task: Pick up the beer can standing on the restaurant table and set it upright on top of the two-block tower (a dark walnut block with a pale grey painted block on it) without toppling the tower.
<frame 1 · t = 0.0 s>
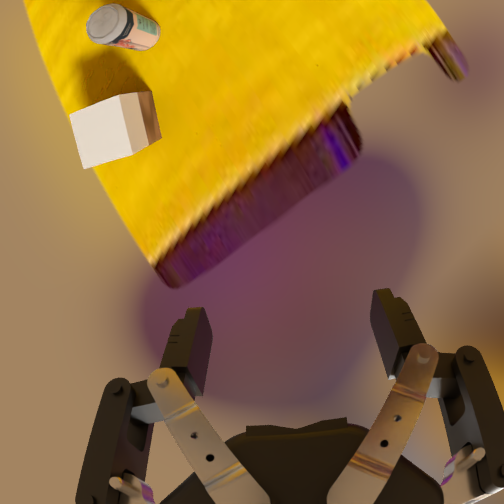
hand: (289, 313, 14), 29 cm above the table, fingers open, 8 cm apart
tower top: (118, 126, 32), point 5 cm above the table
beer can: (145, 35, 29), on the table
tower base: (134, 120, 36), on the table
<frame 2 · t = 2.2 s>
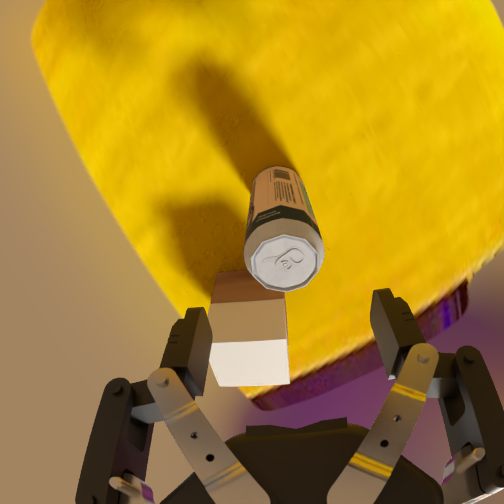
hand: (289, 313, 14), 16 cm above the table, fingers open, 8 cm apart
tower top: (251, 326, 30), point 5 cm above the table, touching tower base
beer can: (277, 188, 27), on the table
tower base: (253, 293, 34), on the table, touching tower top
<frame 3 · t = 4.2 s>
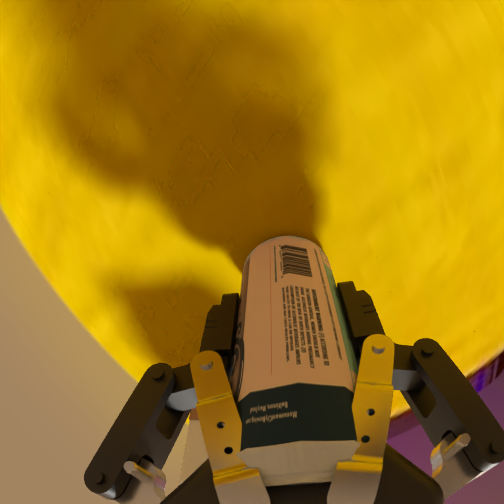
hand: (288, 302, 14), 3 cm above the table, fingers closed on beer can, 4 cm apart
tower top: (247, 439, 19), point 5 cm above the table, touching tower base
beer can: (286, 266, 17), on the table, touching gripper
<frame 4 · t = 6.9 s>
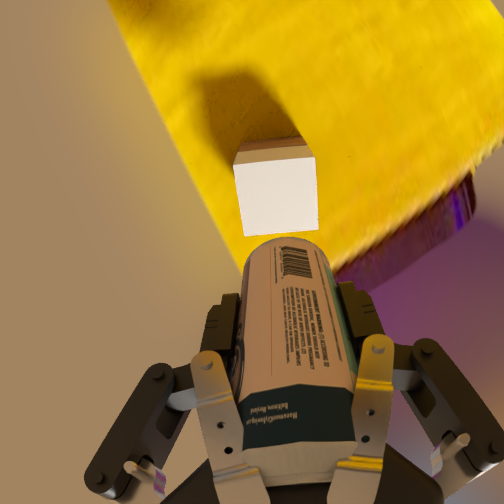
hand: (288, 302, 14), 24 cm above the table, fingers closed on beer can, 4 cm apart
tower top: (276, 180, 30), point 5 cm above the table, touching tower base
beer can: (286, 267, 17), point 21 cm above the table, touching gripper
tower base: (275, 166, 34), on the table, touching tower top
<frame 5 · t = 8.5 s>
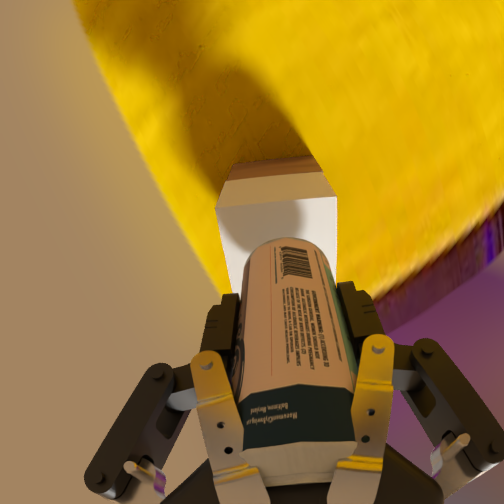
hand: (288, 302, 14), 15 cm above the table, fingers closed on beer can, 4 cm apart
tower top: (278, 219, 23), point 5 cm above the table, touching tower base
beer can: (286, 267, 17), point 12 cm above the table, touching gripper
tower base: (277, 195, 27), on the table, touching tower top
when the fingers open (14 cm above the table, at t = 9.8 s): beer can drops 1 cm, resting on tower top.
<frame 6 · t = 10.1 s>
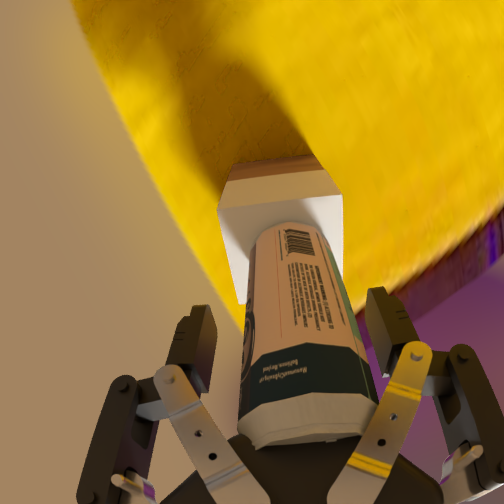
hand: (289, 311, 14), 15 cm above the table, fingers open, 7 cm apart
tower top: (281, 219, 22), point 5 cm above the table, touching beer can, tower base
beer can: (289, 251, 18), point 10 cm above the table, touching tower top
tower base: (278, 195, 26), on the table, touching tower top
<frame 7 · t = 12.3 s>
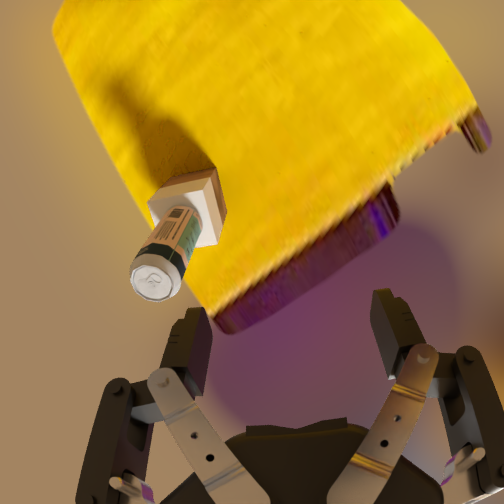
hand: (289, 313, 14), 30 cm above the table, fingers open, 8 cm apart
tower top: (191, 207, 39), point 5 cm above the table, touching beer can, tower base
beer can: (184, 221, 34), point 10 cm above the table, touching tower top
tower base: (199, 194, 43), on the table, touching tower top
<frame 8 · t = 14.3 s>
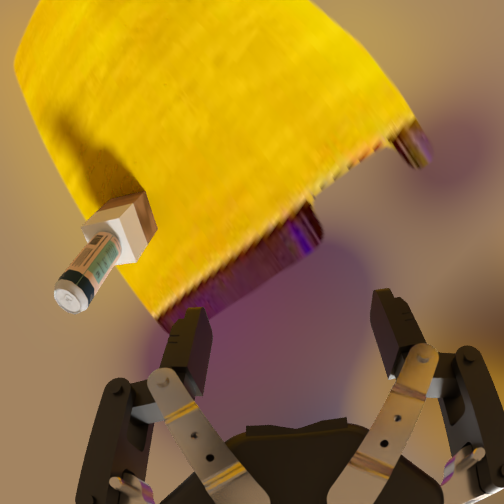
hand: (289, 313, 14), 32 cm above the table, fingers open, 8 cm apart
tower top: (121, 227, 43), point 5 cm above the table, touching beer can, tower base
beer can: (109, 243, 38), point 10 cm above the table, touching tower top
tower base: (133, 213, 47), on the table, touching tower top
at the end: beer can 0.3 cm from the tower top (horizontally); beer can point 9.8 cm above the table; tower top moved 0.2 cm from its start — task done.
